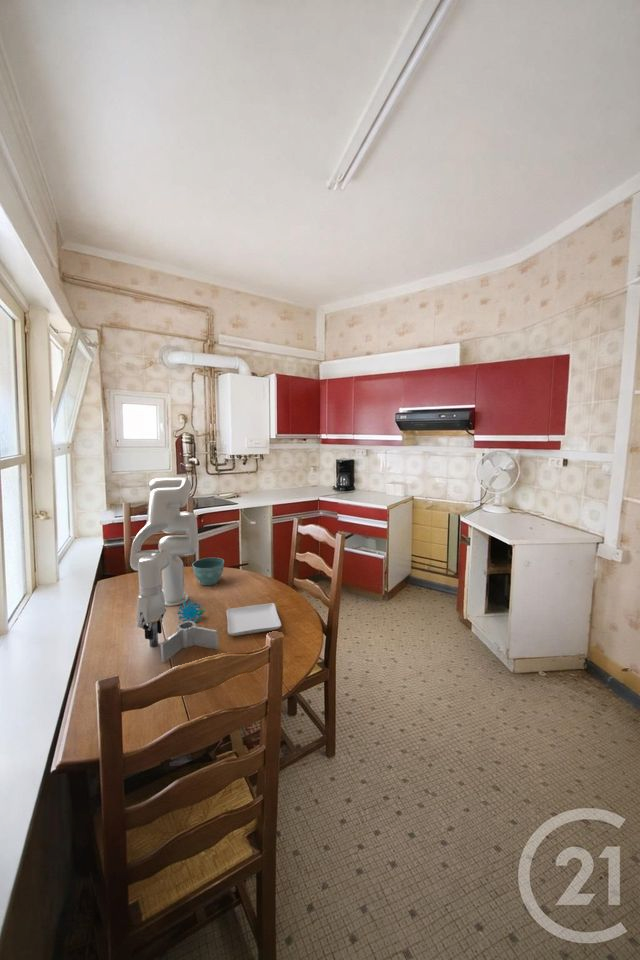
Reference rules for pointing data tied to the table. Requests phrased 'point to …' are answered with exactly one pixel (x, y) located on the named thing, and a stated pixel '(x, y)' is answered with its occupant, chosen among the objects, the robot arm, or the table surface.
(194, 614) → the blue spiky piece
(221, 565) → the teal bowl
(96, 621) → the table surface
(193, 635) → the hinge
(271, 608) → the salad plate
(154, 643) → the pin
